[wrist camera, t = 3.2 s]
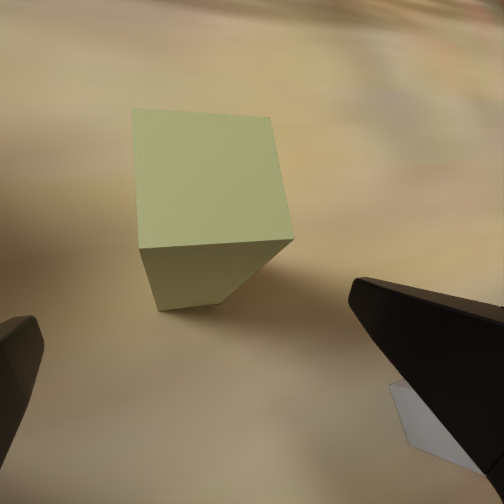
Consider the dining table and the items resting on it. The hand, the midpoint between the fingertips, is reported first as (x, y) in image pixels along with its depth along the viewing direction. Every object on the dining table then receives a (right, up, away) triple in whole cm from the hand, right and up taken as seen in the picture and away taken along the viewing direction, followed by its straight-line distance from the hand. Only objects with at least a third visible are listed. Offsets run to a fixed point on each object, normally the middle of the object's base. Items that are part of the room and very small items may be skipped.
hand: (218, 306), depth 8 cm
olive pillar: (-3, 0, +11) cm, 12 cm away
